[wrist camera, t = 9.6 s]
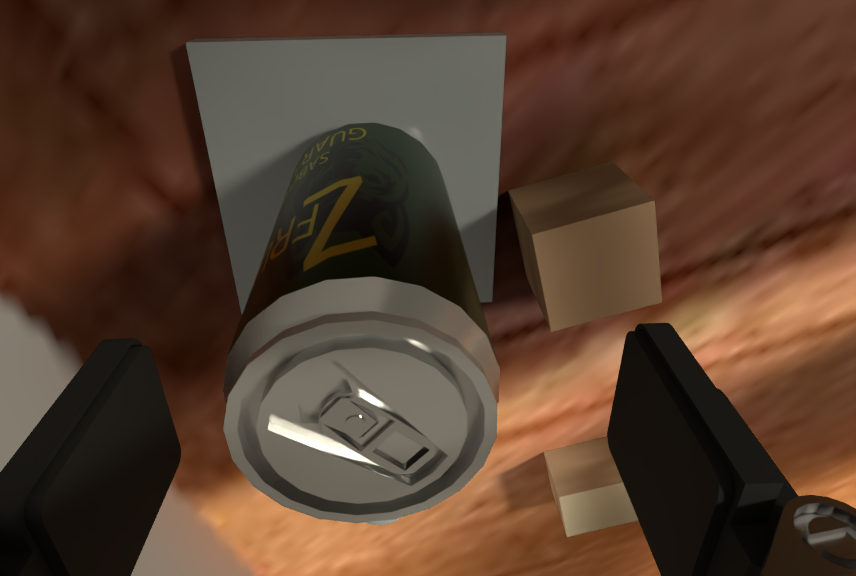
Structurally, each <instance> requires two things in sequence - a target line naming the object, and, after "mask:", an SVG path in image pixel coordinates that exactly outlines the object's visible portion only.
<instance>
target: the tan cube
mask: <svg viewBox="0 0 856 576" xmlns="http://www.w3.org/2000/svg"><path fill="white" fill-rule="evenodd" d="M508 193H509V197H510V202H511V207H512V211H513V216H514V221H515V225H516V230H517V235H518V239H519V244H520V249H521V253H522V258H523V263H524V267H525V272H526V277H527V280H528V282H529V284H530V286H531V288H532V291H533V293H534V295H535V297H536V299H537V301H538V304H539V306H540V308H541V310H542V312H543V315H544V317H545V319H546V321H547V323H548V326H549V328H550V330H551V332H552V331H556V330H560V329H564V328H567V327H571V326H575V325H579V324H582V323H586V322H590V321H593V320H597V319H601V318H605V317H608V316H612V315H616V314H620V313H623V312H627V311H631V310H635V309H638V308H642V307H646V306H650V305H653V304H657V303H661V302H662V295H661V282H660V268H659V254H658V241H657V227H656V213H655V200H653V199H652V198H651V197H650V196H649V195H648V194H647V193H646V192H645V191H644V190H643V189H641V188H640V187H639V186H638V185H637V184H636V183H635V182H634V181H633V180H632V179H630V178H629V177H628V176H627V175H626V174H625V173H624V172H623V171H622V170H621V169H620V168H618V167H617V166H616V165H615V164H614V163H613V162H612V161H610V162H607V163H603V164H600V165H596V166H593V167H589V168H586V169H582V170H579V171H575V172H572V173H568V174H565V175H561V176H558V177H554V178H551V179H547V180H544V181H540V182H537V183H533V184H530V185H526V186H523V187H519V188H516V189H512V190H509V191H508Z"/></svg>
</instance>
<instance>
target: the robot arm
mask: <svg viewBox="0 0 856 576" xmlns="http://www.w3.org/2000/svg"><path fill="white" fill-rule="evenodd" d="M607 439H608V446H609V449H610V452H611V455H612V457H613V459H614V462H615V464H616V467H617V469H618V472H619V474H620V476H621V479H622V481H623V484H624V486H625V489H626V491H627V493H628V496H629V498H630V501H631V503H632V506H633V508H634V510H635V513H636V515H637V518H638V520H639V523H640V525H641V527H642V530H643V532H644V535H645V537H646V540H647V542H648V544H649V547H650V549H651V552H652V554H653V557H654V559H655V561H656V564H657V566H658V569H659V571H660V574H661V576H856V509H855V508H853V507H851V506H849V505H848V504H846V503H843V502H840V501H837V500H834V499H831V498H828V497H823V496H815V495H807V496H798V495H797V494H796V492H795V491H794V489H793V488H792V487H791V485H790V484H789V482H788V481H787V480H786V478H785V477H784V476H783V474H782V473H781V471H780V470H779V469H778V467H777V466H776V464H775V463H774V462H773V460H772V459H771V458H770V456H769V455H768V453H767V452H766V451H765V449H764V448H763V446H762V445H761V444H760V442H759V441H758V440H757V438H756V437H755V435H754V434H753V433H752V431H751V430H750V428H749V427H748V426H747V424H746V423H745V422H744V420H743V419H742V417H741V416H740V415H739V413H738V412H737V410H736V409H735V408H734V406H733V405H732V404H731V402H730V401H729V399H728V398H727V397H726V395H725V394H724V393H723V392H722V391H721V390H719V389H717V388H716V387H715V386H714V384H713V383H712V381H711V380H710V379H709V377H708V376H707V374H706V373H705V372H704V370H703V369H702V367H701V366H700V365H699V363H698V362H697V360H696V359H695V358H694V356H693V355H692V353H691V352H690V351H689V349H688V348H687V346H686V345H685V344H684V342H683V341H682V339H681V338H680V337H679V335H678V334H677V332H676V331H675V330H674V328H673V327H672V326H671V325H670V324H669V323H648V324H639V325H637V327H636V328H635V331H630V332H628V333H627V335H626V339H625V344H624V349H623V355H622V360H621V365H620V370H619V375H618V380H617V385H616V391H615V396H614V401H613V406H612V411H611V416H610V421H609V427H608V433H607ZM180 458H181V448H180V443H179V440H178V437H177V434H176V430H175V427H174V424H173V421H172V417H171V414H170V411H169V408H168V404H167V401H166V398H165V395H164V391H163V388H162V385H161V382H160V378H159V375H158V372H157V369H156V365H155V362H154V359H153V356H152V352H151V350H150V348H149V347H148V346H142V345H141V343H140V341H139V340H137V339H106V340H103V341H102V342H101V343H100V344H99V345H98V347H97V348H96V349H95V350H94V352H93V353H92V354H91V356H90V357H89V358H88V360H87V361H86V362H85V363H84V365H83V366H82V367H81V369H80V370H79V371H78V372H77V374H76V375H75V376H74V378H73V379H72V380H71V382H70V383H69V384H68V385H67V387H66V388H65V389H64V391H63V392H62V393H61V395H60V396H59V397H58V398H57V400H56V401H55V403H54V404H53V405H52V406H51V407H50V409H49V410H48V411H47V413H46V414H45V415H44V417H43V418H42V419H41V421H40V422H39V423H38V424H37V426H36V427H35V428H34V429H33V431H32V432H31V433H30V435H29V436H28V437H27V439H26V440H25V441H24V442H23V444H22V445H21V446H20V448H19V449H18V450H17V452H16V453H15V454H14V455H13V457H12V458H11V459H10V461H9V462H8V463H7V465H6V466H5V467H4V469H3V470H2V471H1V472H0V576H131V573H132V571H133V569H134V566H135V564H136V562H137V560H138V557H139V555H140V553H141V550H142V548H143V546H144V544H145V541H146V539H147V537H148V535H149V532H150V530H151V528H152V525H153V523H154V521H155V518H156V516H157V514H158V512H159V509H160V507H161V505H162V502H163V500H164V498H165V496H166V493H167V491H168V489H169V486H170V484H171V482H172V480H173V477H174V475H175V473H176V470H177V468H178V466H179V463H180Z"/></svg>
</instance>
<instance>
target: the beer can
mask: <svg viewBox="0 0 856 576" xmlns="http://www.w3.org/2000/svg"><path fill="white" fill-rule="evenodd" d="M499 373H500V368H499V364H498V361H497V358H496V354H495V351H494V347H493V344H492V341H491V337H490V334H489V330H488V327H487V324H486V320H485V317H484V314H483V310H482V307H481V303H480V300H479V297H478V293H477V290H476V286H475V283H474V280H473V276H472V273H471V269H470V266H469V263H468V259H467V256H466V252H465V249H464V246H463V242H462V239H461V236H460V232H459V229H458V225H457V222H456V219H455V215H454V212H453V208H452V205H451V202H450V198H449V195H448V191H447V188H446V185H445V182H444V179H443V176H442V174H441V171H440V168H439V166H438V163H437V161H436V160H435V159H434V157H433V156H432V155H431V154H430V152H429V151H428V150H427V149H426V148H425V146H424V145H423V144H422V143H421V142H420V141H418V140H417V139H415V138H414V137H412V136H410V135H409V134H407V133H406V132H404V131H403V130H401V129H399V128H395V127H391V126H387V125H383V124H379V123H375V122H372V123H356V124H347V125H345V126H342V127H340V128H337V129H335V130H332V131H330V132H327V133H325V134H324V135H323V136H321V137H320V138H319V139H318V140H317V141H316V142H314V143H313V144H312V145H311V146H310V147H309V148H307V149H306V151H305V152H304V154H303V156H302V158H301V159H300V161H299V163H298V165H297V167H296V168H295V170H294V172H293V175H292V178H291V181H290V184H289V186H288V189H287V192H286V195H285V197H284V200H283V203H282V206H281V209H280V211H279V214H278V217H277V220H276V223H275V225H274V228H273V231H272V234H271V236H270V239H269V242H268V245H267V248H266V250H265V253H264V256H263V259H262V261H261V264H260V267H259V270H258V273H257V275H256V278H255V281H254V284H253V286H252V289H251V292H250V295H249V298H248V300H247V303H246V306H245V309H244V311H243V314H242V317H241V320H240V323H239V325H238V328H237V331H236V334H235V337H234V339H233V342H232V345H231V348H230V350H229V353H228V356H227V363H226V371H225V378H224V385H223V394H224V397H225V401H226V404H227V408H226V414H225V421H224V428H223V429H224V433H225V436H226V439H227V443H228V446H229V450H230V453H231V456H232V460H233V461H234V462H235V464H236V465H237V466H238V467H239V469H240V470H241V471H242V473H243V474H244V475H245V476H246V478H247V479H248V480H249V481H250V483H251V484H252V485H253V486H254V487H255V488H257V489H258V490H260V491H261V492H263V493H264V494H266V495H267V496H269V497H270V498H271V499H273V500H274V501H276V502H277V503H279V504H280V505H282V506H284V507H287V508H289V509H292V510H295V511H298V512H301V513H304V514H307V515H309V516H312V517H315V518H318V519H326V520H335V521H343V522H352V523H362V522H373V521H384V520H394V519H398V518H401V517H404V516H407V515H410V514H414V513H417V512H420V511H423V510H426V509H429V508H431V507H433V506H435V505H436V504H438V503H440V502H441V501H443V500H445V499H447V498H448V497H450V496H452V495H453V494H455V493H457V492H458V491H460V490H461V489H462V488H463V487H464V486H465V485H466V484H467V483H468V482H469V481H470V480H471V479H472V478H473V476H474V475H475V474H476V473H477V472H478V471H479V470H480V469H481V468H482V467H483V466H484V464H485V462H486V459H487V457H488V455H489V453H490V450H491V448H492V446H493V444H494V442H495V439H496V437H497V404H498V402H499Z"/></svg>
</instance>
